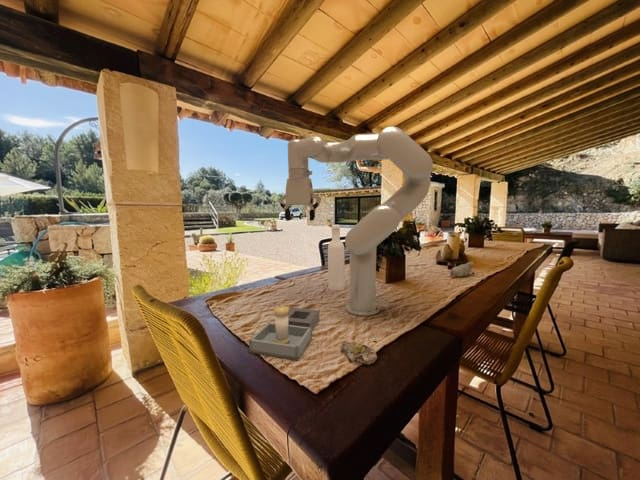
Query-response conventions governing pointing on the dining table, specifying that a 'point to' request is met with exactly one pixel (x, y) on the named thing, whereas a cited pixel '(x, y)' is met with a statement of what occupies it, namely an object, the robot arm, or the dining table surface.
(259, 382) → the dining table surface
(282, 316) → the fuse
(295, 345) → the tray
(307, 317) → the fuse holder
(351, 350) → the mineral rock
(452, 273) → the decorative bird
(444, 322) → the dining table surface
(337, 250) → the bottle
